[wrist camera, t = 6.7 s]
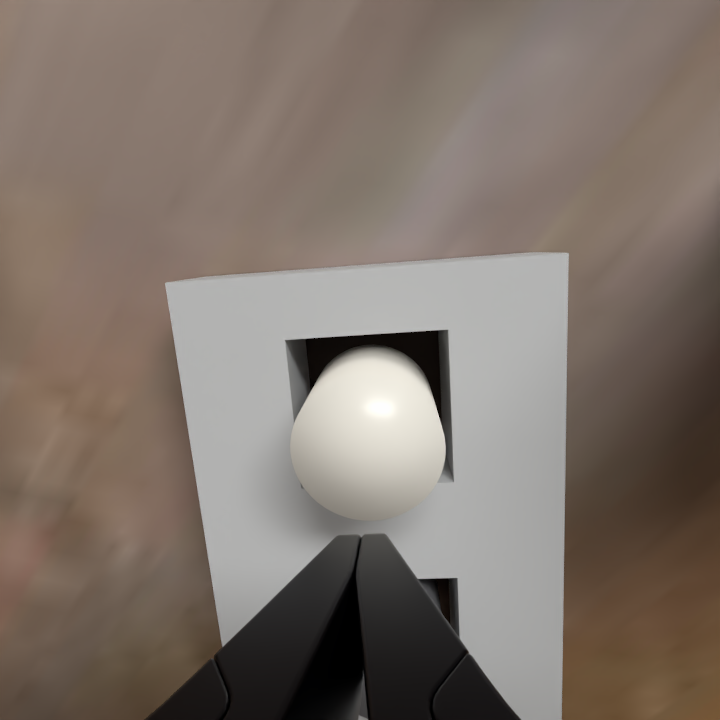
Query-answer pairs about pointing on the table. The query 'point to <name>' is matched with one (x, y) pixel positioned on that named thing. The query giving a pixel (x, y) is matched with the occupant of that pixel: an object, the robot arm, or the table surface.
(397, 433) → the key ivory
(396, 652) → the robot arm
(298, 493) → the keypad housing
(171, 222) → the table surface
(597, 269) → the table surface
